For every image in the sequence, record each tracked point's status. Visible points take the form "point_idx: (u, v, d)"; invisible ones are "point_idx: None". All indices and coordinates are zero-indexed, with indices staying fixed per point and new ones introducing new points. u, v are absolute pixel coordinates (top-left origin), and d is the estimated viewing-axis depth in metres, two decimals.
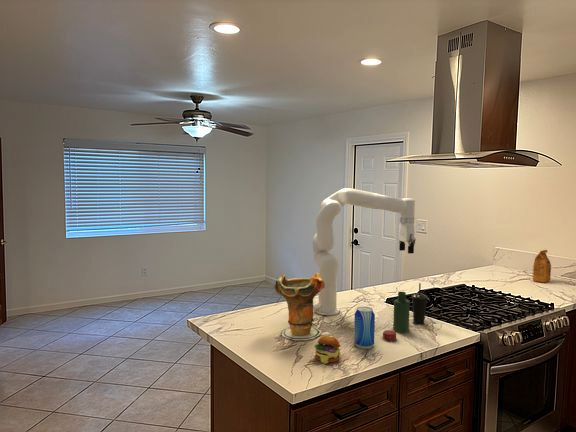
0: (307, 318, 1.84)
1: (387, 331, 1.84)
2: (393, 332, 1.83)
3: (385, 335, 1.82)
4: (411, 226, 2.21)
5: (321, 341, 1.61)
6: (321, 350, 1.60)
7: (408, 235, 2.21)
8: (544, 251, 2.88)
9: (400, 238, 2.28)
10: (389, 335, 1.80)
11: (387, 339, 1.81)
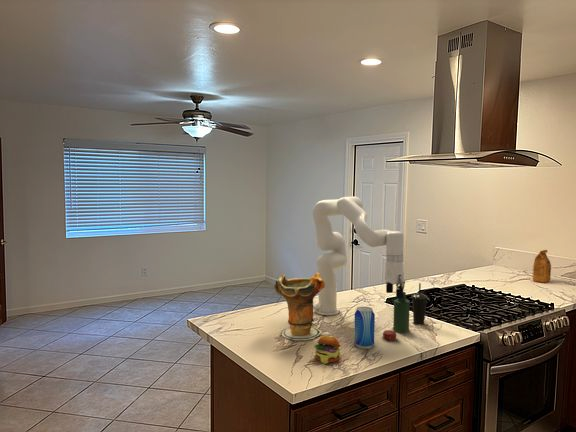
0: (307, 318, 1.84)
1: (387, 331, 1.84)
2: (393, 332, 1.83)
3: (385, 335, 1.82)
4: (399, 265, 1.84)
5: (321, 341, 1.61)
6: (321, 350, 1.60)
7: (396, 276, 1.84)
8: (544, 251, 2.88)
9: (387, 279, 1.90)
10: (389, 335, 1.80)
11: (387, 339, 1.81)
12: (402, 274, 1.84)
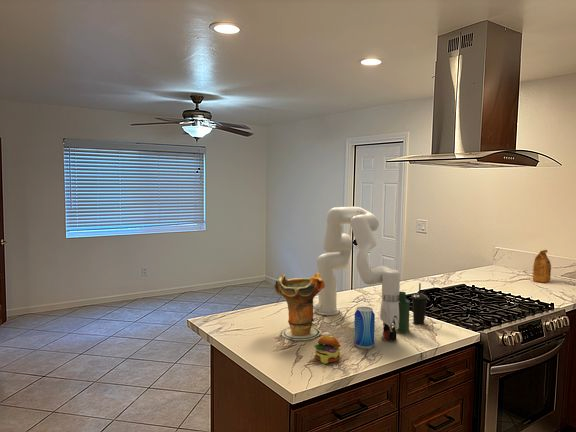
0: (307, 318, 1.84)
1: (387, 331, 1.84)
2: None
3: (385, 335, 1.82)
4: (395, 306, 1.77)
5: (321, 341, 1.61)
6: (321, 350, 1.60)
7: (391, 317, 1.77)
8: (544, 251, 2.88)
9: (382, 318, 1.84)
10: None
11: (387, 339, 1.81)
12: (397, 315, 1.78)
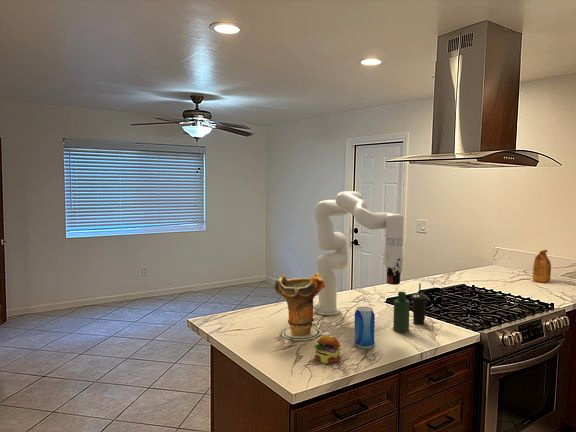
0: (307, 318, 1.84)
1: (391, 276, 1.84)
2: None
3: (389, 279, 1.82)
4: (398, 249, 1.78)
5: (321, 341, 1.61)
6: (321, 350, 1.60)
7: (395, 260, 1.77)
8: (544, 251, 2.88)
9: (386, 263, 1.84)
10: None
11: (391, 283, 1.81)
12: (401, 258, 1.78)
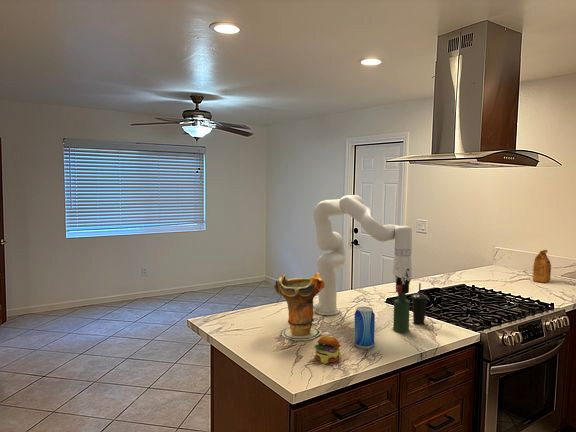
0: (307, 318, 1.84)
1: (400, 285, 1.93)
2: None
3: (398, 288, 1.91)
4: (407, 259, 1.87)
5: (321, 341, 1.61)
6: (321, 350, 1.60)
7: (404, 270, 1.86)
8: (544, 251, 2.88)
9: (395, 273, 1.93)
10: None
11: (400, 292, 1.90)
12: (410, 268, 1.87)
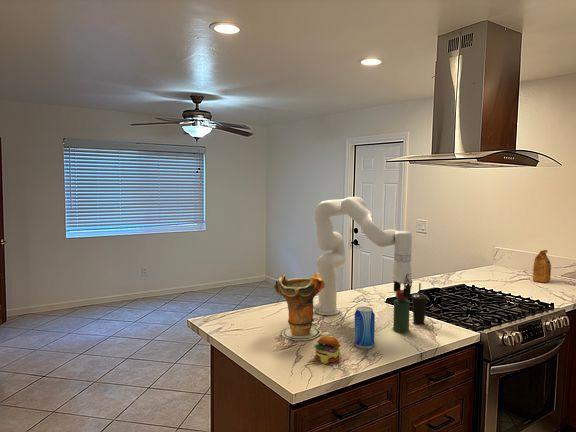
0: (307, 318, 1.84)
1: (399, 290, 1.93)
2: None
3: (398, 294, 1.91)
4: (407, 265, 1.87)
5: (321, 341, 1.61)
6: (321, 350, 1.60)
7: (404, 276, 1.87)
8: (544, 251, 2.88)
9: (394, 278, 1.93)
10: (402, 293, 1.90)
11: (400, 297, 1.90)
12: (410, 274, 1.87)
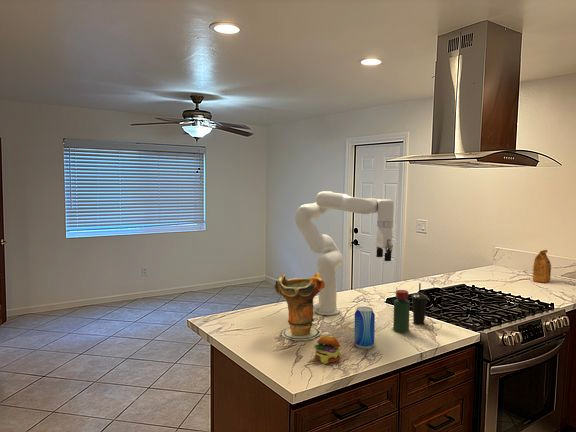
0: (307, 318, 1.84)
1: (399, 290, 1.93)
2: (405, 291, 1.92)
3: (398, 294, 1.91)
4: (388, 230, 1.97)
5: (321, 341, 1.61)
6: (321, 350, 1.60)
7: (385, 241, 1.97)
8: (544, 251, 2.88)
9: (377, 243, 2.04)
10: (402, 293, 1.90)
11: (400, 297, 1.90)
12: (391, 239, 1.98)
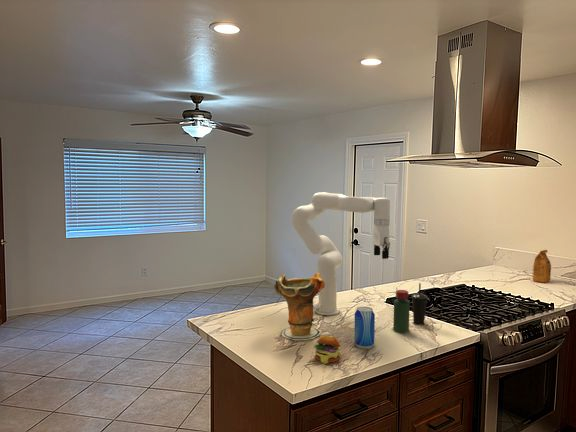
0: (307, 318, 1.84)
1: (399, 290, 1.93)
2: (405, 291, 1.92)
3: (398, 294, 1.91)
4: (385, 228, 1.99)
5: (321, 341, 1.61)
6: (321, 350, 1.60)
7: (382, 238, 1.99)
8: (544, 251, 2.88)
9: (374, 242, 2.06)
10: (402, 293, 1.90)
11: (400, 297, 1.90)
12: (388, 237, 2.00)
